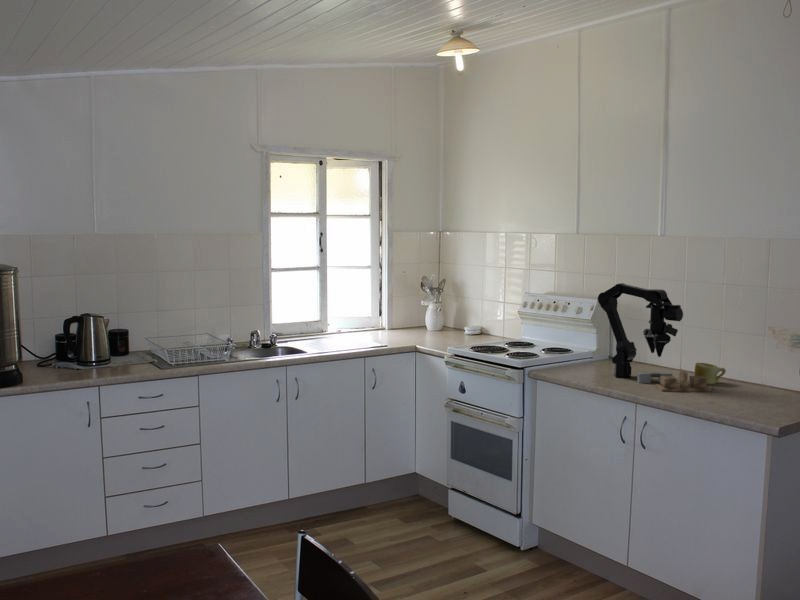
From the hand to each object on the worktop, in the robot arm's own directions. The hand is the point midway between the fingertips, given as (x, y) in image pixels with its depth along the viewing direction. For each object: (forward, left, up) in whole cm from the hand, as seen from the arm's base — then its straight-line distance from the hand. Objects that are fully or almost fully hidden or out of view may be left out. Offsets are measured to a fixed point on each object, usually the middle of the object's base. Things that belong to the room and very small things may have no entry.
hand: (656, 354), depth 326 cm
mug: (+23, -1, -12) cm, 26 cm away
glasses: (0, 0, -12) cm, 12 cm away
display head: (+8, -13, -12) cm, 20 cm away
